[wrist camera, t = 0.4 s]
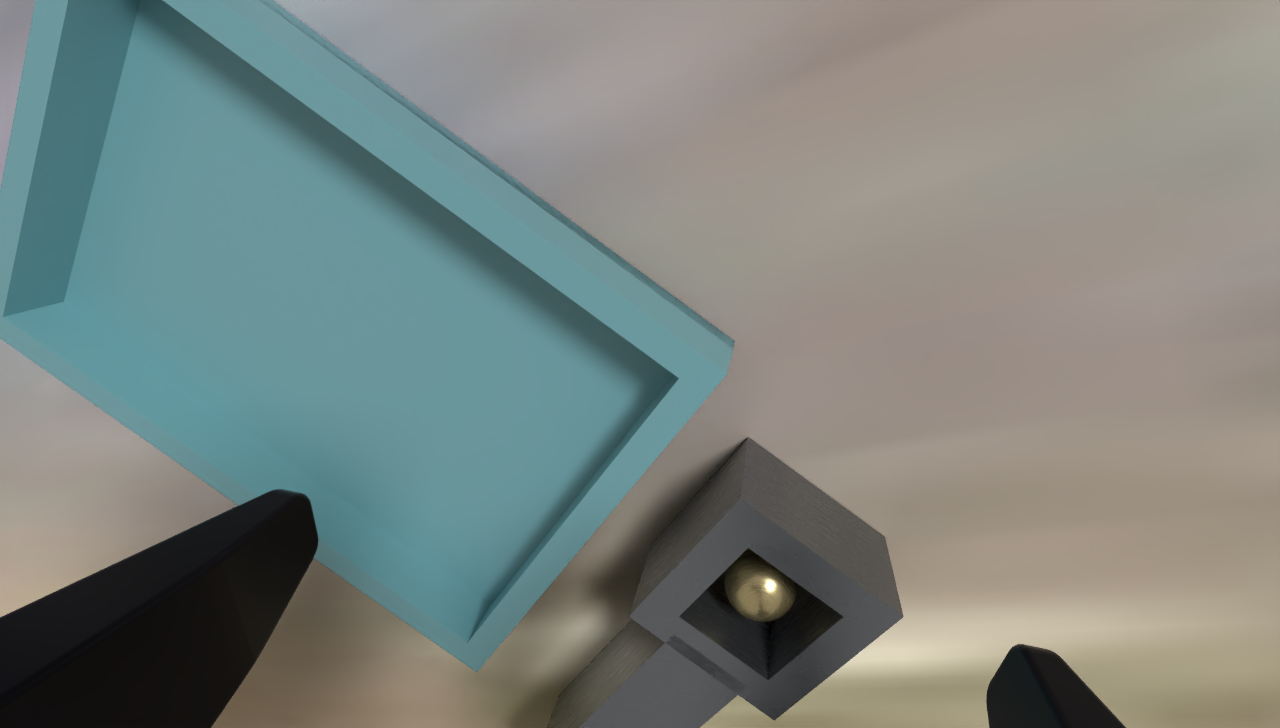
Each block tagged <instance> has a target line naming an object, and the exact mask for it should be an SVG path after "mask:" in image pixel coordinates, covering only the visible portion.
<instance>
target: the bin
mask: <svg viewBox="0 0 1280 728" xmlns="http://www.w3.org/2000/svg"><path fill="white" fill-rule="evenodd" d="M0 339H2V340H3V341H5V342H6V343H7V344H9V345H10V346H12V347H13V348H15V349H16V350H17V351H19V352H20V353H22V354H23V355H25V356H26V357H27V358H29V359H30V360H32V361H33V362H35V363H36V364H37V365H39V366H40V367H42V368H43V369H45V370H46V371H47V372H49V373H50V374H52V375H53V376H55V377H56V378H57V379H59V380H60V381H62V382H63V383H65V384H66V385H67V386H69V387H70V388H72V389H73V390H75V391H76V392H77V393H79V394H80V395H82V396H83V397H85V398H86V399H87V400H89V401H90V402H92V403H93V404H95V405H96V406H97V407H99V408H100V409H102V410H103V411H105V412H106V413H107V414H109V415H110V416H112V417H113V418H114V419H116V420H117V421H119V422H120V423H122V424H123V425H124V426H126V427H127V428H129V429H130V430H132V431H133V432H134V433H136V434H137V435H139V436H140V437H142V438H143V439H144V440H146V441H147V442H149V443H150V444H152V445H153V446H154V447H156V448H157V449H159V450H160V451H162V452H163V453H164V454H166V455H167V456H169V457H170V458H172V459H173V460H174V461H176V462H177V463H179V464H180V465H182V466H183V467H184V468H186V469H187V470H189V471H190V472H192V473H193V474H194V475H196V476H197V477H199V478H200V479H202V480H203V481H204V482H206V483H207V484H209V485H210V486H212V487H213V488H214V489H216V490H217V491H219V492H220V493H222V494H223V495H224V496H226V497H227V498H229V499H230V500H232V501H233V502H234V503H236V504H237V505H241V504H243V503H245V502H247V501H249V500H252V499H254V498H256V497H258V496H260V495H262V494H264V493H267V492H269V491H271V490H275V489H285V490H290V491H294V492H299V493H303V494H305V495H307V497H308V498H309V499H310V501H311V505H312V510H313V514H314V519H315V523H316V528H317V532H318V547H317V551H316V554H315V556H314V559H316V560H317V561H319V562H320V563H321V564H323V565H324V566H326V567H327V568H329V569H330V570H331V571H333V572H334V573H336V574H337V575H339V576H340V577H341V578H343V579H344V580H346V581H347V582H349V583H350V584H351V585H353V586H354V587H356V588H357V589H359V590H360V591H361V592H363V593H364V594H366V595H367V596H369V597H370V598H371V599H373V600H374V601H376V602H377V603H379V604H380V605H381V606H383V607H384V608H386V609H387V610H389V611H390V612H391V613H393V614H394V615H396V616H397V617H399V618H400V619H401V620H403V621H404V622H406V623H407V624H409V625H410V626H411V627H413V628H414V629H416V630H417V631H419V632H420V633H421V634H423V635H424V636H426V637H427V638H429V639H430V640H431V641H433V642H434V643H436V644H437V645H439V646H440V647H441V648H443V649H444V650H446V651H447V652H449V653H450V654H451V655H453V656H454V657H456V658H457V659H459V660H460V661H461V662H463V663H464V664H466V665H467V666H469V667H470V668H471V669H473V670H474V671H476V672H478V670H479V669H480V668H481V667H482V666H483V665H484V663H485V662H486V661H487V660H488V659H489V657H490V656H491V655H492V654H493V653H494V651H495V650H496V649H497V648H498V647H499V645H500V644H501V643H502V642H503V641H504V639H505V638H506V637H507V636H508V635H509V633H510V632H511V631H512V630H513V629H514V627H515V626H516V625H517V624H518V623H519V622H520V620H521V619H522V618H523V617H524V616H525V614H526V613H527V612H528V611H529V610H530V608H531V607H532V606H533V605H534V604H535V602H536V601H537V600H538V599H539V598H540V596H541V595H542V594H543V593H544V592H545V590H546V589H547V588H548V587H549V586H550V585H551V583H552V582H553V581H554V580H555V579H556V577H557V576H558V575H559V574H560V573H561V571H562V570H563V569H564V568H565V567H566V565H567V564H568V563H569V562H570V561H571V559H572V558H573V557H574V556H575V555H576V553H577V552H578V551H579V550H580V549H581V547H582V546H583V545H584V544H585V543H586V542H587V540H588V539H589V538H590V537H591V536H592V534H593V533H594V532H595V531H596V530H597V528H598V527H599V526H600V525H601V524H602V522H603V521H604V520H605V519H606V518H607V516H608V515H609V514H610V513H611V512H612V510H613V509H614V508H615V507H616V506H617V505H618V503H619V502H620V501H621V500H622V499H623V497H624V496H625V495H626V494H627V493H628V491H629V490H630V489H631V488H632V487H633V485H634V484H635V483H636V482H637V481H638V479H639V478H640V477H641V476H642V475H643V473H644V472H645V471H646V470H647V469H648V467H649V466H650V465H651V464H652V463H653V462H654V460H655V459H656V458H657V457H658V456H659V454H660V453H661V452H662V451H663V450H664V448H665V447H666V446H667V445H668V444H669V442H670V441H671V440H672V439H673V438H674V436H675V435H676V434H677V433H678V432H679V430H680V429H681V428H682V427H683V426H684V424H685V423H686V422H687V421H688V420H689V419H690V417H691V416H692V415H693V414H694V413H695V411H696V410H697V409H698V408H699V407H700V405H701V404H702V403H703V402H704V401H705V399H706V398H707V397H708V396H709V395H710V393H711V392H712V391H713V390H714V389H715V387H716V386H717V385H718V384H719V383H720V382H721V380H722V379H723V378H724V377H725V376H726V374H727V371H728V367H729V363H730V359H731V355H732V351H733V347H734V342H735V341H734V340H732V339H731V338H730V337H728V336H727V335H725V334H724V333H723V332H721V331H720V330H719V329H717V328H716V327H715V326H713V325H712V324H711V323H709V322H708V321H706V320H705V319H704V318H702V317H701V316H700V315H698V314H697V313H696V312H694V311H693V310H692V309H690V308H689V307H687V306H686V305H685V304H683V303H682V302H681V301H679V300H678V299H677V298H675V297H674V296H673V295H671V294H670V293H669V292H667V291H666V290H664V289H663V288H662V287H660V286H659V285H658V284H656V283H655V282H654V281H652V280H651V279H650V278H648V277H647V276H645V275H644V274H643V273H641V272H640V271H639V270H637V269H636V268H635V267H633V266H632V265H631V264H629V263H628V262H626V261H625V260H624V259H622V258H621V257H620V256H618V255H617V254H616V253H614V252H613V251H612V250H610V249H609V248H607V247H606V246H605V245H603V244H602V243H601V242H599V241H598V240H597V239H595V238H594V237H593V236H591V235H590V234H589V233H587V232H586V231H584V230H583V229H582V228H580V227H579V226H578V225H576V224H575V223H574V222H572V221H571V220H570V219H568V218H567V217H565V216H564V215H563V214H561V213H560V212H559V211H557V210H556V209H555V208H553V207H552V206H551V205H549V204H548V203H546V202H545V201H544V200H542V199H541V198H540V197H538V196H537V195H536V194H534V193H533V192H532V191H530V190H529V189H528V188H526V187H525V186H523V185H522V184H521V183H519V182H518V181H517V180H515V179H514V178H513V177H511V176H510V175H509V174H507V173H506V172H504V171H503V170H502V169H500V168H499V167H498V166H496V165H495V164H494V163H492V162H491V161H490V160H488V159H487V158H485V157H484V156H483V155H481V154H480V153H479V152H477V151H476V150H475V149H473V148H472V147H471V146H469V145H468V144H466V143H465V142H464V141H462V140H461V139H460V138H458V137H457V136H456V135H454V134H453V133H452V132H450V131H449V130H448V129H446V128H445V127H443V126H442V125H441V124H439V123H438V122H437V121H435V120H434V119H433V118H431V117H430V116H429V115H427V114H426V113H424V112H423V111H422V110H420V109H419V108H418V107H416V106H415V105H414V104H412V103H411V102H410V101H408V100H407V99H405V98H404V97H403V96H401V95H400V94H399V93H397V92H396V91H395V90H393V89H392V88H391V87H389V86H388V85H387V84H385V83H384V82H382V81H381V80H380V79H378V78H377V77H376V76H374V75H373V74H372V73H370V72H369V71H368V70H366V69H365V68H363V67H362V66H361V65H359V64H358V63H357V62H355V61H354V60H353V59H351V58H350V57H349V56H347V55H346V54H344V53H343V52H342V51H340V50H339V49H338V48H336V47H335V46H334V45H332V44H331V43H330V42H328V41H327V40H325V39H324V38H323V37H321V36H320V35H319V34H317V33H316V32H315V31H313V30H312V29H311V28H309V27H308V26H307V25H305V24H304V23H302V22H301V21H300V20H298V19H297V18H296V17H294V16H293V15H292V14H290V13H289V12H288V11H286V10H285V9H283V8H282V7H281V6H279V5H278V4H277V3H275V2H274V1H273V0H36V1H35V6H34V12H33V17H32V22H31V28H30V33H29V39H28V44H27V49H26V55H25V60H24V66H23V71H22V76H21V82H20V87H19V93H18V98H17V103H16V109H15V114H14V119H13V125H12V130H11V136H10V141H9V146H8V152H7V157H6V163H5V168H4V173H3V179H2V184H1V190H0Z"/></svg>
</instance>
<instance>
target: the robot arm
mask: <svg viewBox="0 0 1280 728" xmlns="http://www.w3.org/2000/svg"><path fill="white" fill-rule="evenodd" d="M317 547H318V532H317V528H316V523H315V519H314V514H313V510H312V505H311V501H310V499H309V498H308V497H307V495H305V494H303V493H299V492H294V491H290V490H285V489H275V490H271V491H269V492H267V493H264V494H262V495H260V496H258V497H256V498H254V499H252V500H249V501H247V502H245V503H243V504H241V505H239V506H237V507H235V508H232V509H230V510H228V511H226V512H224V513H222V514H220V515H218V516H215V517H213V518H211V519H209V520H207V521H205V522H203V523H201V524H198V525H196V526H194V527H192V528H190V529H188V530H186V531H183V532H181V533H179V534H177V535H175V536H173V537H171V538H169V539H166V540H164V541H162V542H160V543H158V544H156V545H154V546H152V547H149V548H147V549H145V550H143V551H141V552H139V553H137V554H134V555H132V556H130V557H128V558H126V559H124V560H122V561H120V562H117V563H115V564H113V565H111V566H109V567H107V568H105V569H103V570H100V571H98V572H96V573H94V574H92V575H90V576H88V577H85V578H83V579H81V580H79V581H77V582H75V583H73V584H71V585H68V586H66V587H64V588H62V589H60V590H58V591H56V592H54V593H51V594H49V595H47V596H45V597H43V598H41V599H39V600H36V601H34V602H32V603H30V604H28V605H26V606H24V607H22V608H19V609H17V610H15V611H13V612H11V613H9V614H7V615H5V616H2V617H0V728H211V727H212V725H213V724H214V722H215V721H216V719H217V718H218V717H219V715H220V714H221V712H222V711H223V709H224V708H225V706H226V705H227V703H228V702H229V700H230V699H231V698H232V696H233V695H234V693H235V692H236V690H237V689H238V687H239V686H240V684H241V683H242V681H243V680H244V678H245V677H246V675H247V674H248V672H249V671H250V669H251V668H252V666H253V665H254V663H255V662H256V660H257V658H258V657H259V655H260V653H261V652H262V650H263V648H264V646H265V645H266V643H267V641H268V639H269V638H270V636H271V634H272V632H273V630H274V629H275V627H276V625H277V623H278V621H279V619H280V618H281V616H282V614H283V612H284V610H285V609H286V607H287V605H288V603H289V601H290V600H291V598H292V596H293V594H294V592H295V590H296V589H297V587H298V585H299V583H300V581H301V580H302V578H303V576H304V574H305V572H306V571H307V569H308V567H309V565H310V563H311V562H312V560H313V558H314V556H315V554H316V551H317ZM987 711H988V719H989V727H990V728H1126V727H1125V726H1124V725H1123V724H1122V723H1121V722H1120V721H1119V720H1118V718H1117V717H1116V716H1115V715H1114V714H1113V713H1112V712H1111V711H1110V710H1109V709H1108V708H1107V707H1106V706H1105V704H1104V703H1103V702H1102V701H1101V700H1100V699H1099V698H1098V697H1097V696H1096V695H1095V694H1094V693H1093V692H1092V690H1091V689H1090V688H1089V687H1088V686H1087V685H1086V684H1085V683H1084V682H1083V681H1082V680H1081V679H1080V677H1079V676H1078V675H1077V674H1076V673H1075V672H1074V671H1073V670H1072V669H1071V668H1070V667H1069V666H1068V665H1067V663H1066V662H1065V661H1064V660H1063V659H1062V658H1061V657H1060V656H1059V655H1057V654H1056V653H1055V652H1053V651H1050V650H1047V649H1043V648H1038V647H1033V646H1028V645H1024V644H1017V645H1015V646H1014V647H1012V648H1011V649H1010V651H1009V652H1008V654H1007V655H1006V657H1005V659H1004V660H1003V662H1002V664H1001V665H1000V667H999V669H998V670H997V672H996V673H995V675H994V677H993V678H992V680H991V682H990V684H989V687H988V690H987Z"/></svg>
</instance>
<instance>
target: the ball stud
mask: <svg viewBox="0 0 1280 728" xmlns="http://www.w3.org/2000/svg"><path fill="white" fill-rule="evenodd" d="M724 584H725V591H726V594H727V597H728V599H729V601H730V603H731V604H732V606H733V607H734V608H735V609H736V610H737V611H738V612H739V613H740V614H741V615H743V616H744V617H746V618H748V619H751V620H754V621H759V622H767V621H772V620H775V619H778V618H780V617H781V616H783V615H784V614H785V613H786V612H787V611H788V610H789V609H790V608H791V606H792V605H793V603H794V601H795V598H796V594H797V583H796V582H795V581H793V580H792V579H791V578H789V577H788V576H786V575H785V574H784V573H782V572H781V571H780V570H778V569H777V568H775V567H774V566H773V565H771V564H770V563H768V562H767V561H766V560H764V559H763V558H762V557H760V556H759V555H757V554H756V553H755V552H753V551H752V550H750V549H749V548H747V549H746V550H745V551H744V552H743V553H742V554H741V555H740V556H739V557H738V558H737V559H736V560H735V561H734V562H733V563H732V564H731V565H730V566H729V567H728V568H727V569H726V573H725V581H724Z"/></svg>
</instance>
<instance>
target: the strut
mask: <svg viewBox="0 0 1280 728" xmlns="http://www.w3.org/2000/svg"><path fill="white" fill-rule="evenodd" d="M747 548H749V549H750V550H752V551H753V552H755V553H756V554H757V555H759V556H760V557H762V558H763V559H764V560H766V561H767V562H768V563H770V564H771V565H773V566H774V567H775V568H777V569H778V570H780V571H781V572H782V573H784V574H785V575H786V576H788V577H789V578H791V579H792V580H793V581H795V582H796V583H797V594H796V598H795V601H794V603H793V605H792V606H791V608H790V609H789V610H788V611H787V612H786V613H785V614H784V615H783V616H781V617H780V618H778V619H775V620H772V621H767V622H759V621H754V620H751V619H748V618H746V617H744V616H743V615H741V614H740V613H739V612H738V611H737V610H736V609H735V608H734V607H733V606H732V604H731V603H730V601H729V599H728V597H727V594H726V591H725V584H724V581H725V573H726V569H727V568H728V567H729V566H730V565H731V564H732V563H733V562H734V561H735V560H736V559H737V558H738V557H739V556H740V555H741V554H742V553H743V552H744V551H745V550H746V549H747ZM629 617H630V618H631V619H632V620H631V621H630V622H629V623H628V624H627V625H626V626H625V628H624V629H623V630H622V631H621V632H620V633H619V634H618V635H617V636H616V637H615V638H614V639H613V640H612V641H611V642H610V643H609V644H608V645H607V646H606V647H605V648H604V649H603V650H602V652H601V653H600V654H599V655H598V656H597V657H596V658H595V659H594V660H593V661H592V662H591V663H590V664H589V665H588V666H587V667H586V668H585V669H584V670H583V671H582V672H581V673H580V675H579V676H578V677H577V678H576V679H575V680H574V681H573V682H572V683H571V684H570V685H569V686H568V687H567V688H566V689H565V690H564V691H563V692H562V693H561V694H560V696H559V698H558V701H557V703H556V706H555V708H554V711H553V713H552V716H551V718H550V721H549V723H548V726H547V728H700V727H701V726H702V725H703V724H704V723H706V722H707V721H708V720H709V719H710V718H711V717H713V716H714V715H715V714H716V713H717V712H718V711H720V710H721V709H722V708H723V707H724V706H725V705H727V704H728V703H729V702H730V701H731V700H732V699H734V698H735V697H736V696H737V695H739V696H741V697H742V698H744V699H745V700H746V701H748V702H749V703H751V704H752V705H753V706H755V707H756V708H758V709H759V710H760V711H762V712H763V713H765V714H766V715H767V716H769V717H770V718H772V719H773V720H775V719H777V718H778V717H779V716H780V715H782V714H783V713H784V712H785V711H787V710H788V709H789V708H790V707H792V706H793V705H794V704H795V703H797V702H798V701H799V700H800V699H802V698H803V697H804V696H805V695H807V694H808V693H809V692H810V691H812V690H813V689H814V688H815V687H817V686H818V685H819V684H820V683H822V682H823V681H824V680H825V679H827V678H828V677H829V676H830V675H832V674H833V673H834V672H835V671H837V670H838V669H839V668H840V667H842V666H843V665H844V664H845V663H847V662H848V661H849V660H850V659H852V658H853V657H854V656H855V655H857V654H858V653H859V652H860V651H862V650H863V649H864V648H865V647H867V646H868V645H869V644H870V643H872V642H873V641H874V640H875V639H877V638H878V637H879V636H880V635H882V634H883V633H884V632H885V631H887V630H888V629H889V628H890V627H892V626H893V625H894V624H895V623H897V622H898V621H899V620H900V619H902V618H903V613H902V608H901V604H900V600H899V595H898V591H897V587H896V583H895V578H894V574H893V570H892V565H891V561H890V557H889V553H888V548H887V544H886V540H885V537H884V536H883V535H881V534H880V533H879V532H877V531H876V530H875V529H873V528H872V527H871V526H869V525H868V524H866V523H865V522H864V521H862V520H861V519H860V518H858V517H857V516H855V515H854V514H853V513H851V512H850V511H849V510H847V509H846V508H845V507H843V506H842V505H840V504H839V503H838V502H836V501H835V500H834V499H832V498H831V497H829V496H828V495H827V494H825V493H824V492H823V491H821V490H820V489H819V488H817V487H816V486H814V485H813V484H812V483H810V482H809V481H808V480H806V479H805V478H804V477H802V476H801V475H799V474H798V473H797V472H795V471H794V470H793V469H791V468H790V467H788V466H787V465H786V464H784V463H783V462H782V461H780V460H779V459H778V458H776V457H775V456H773V455H772V454H771V453H769V452H768V451H767V450H765V449H764V448H762V447H761V446H760V445H758V444H757V443H756V442H754V441H753V440H752V439H750V438H749V437H748V438H747V439H746V440H745V441H744V443H743V444H742V445H741V446H740V447H739V448H738V449H737V450H736V451H735V453H734V454H733V455H732V456H731V457H730V458H729V459H728V460H727V461H726V462H725V464H724V465H723V466H722V467H721V468H720V469H719V470H718V471H717V472H716V474H715V475H714V476H713V477H712V478H711V479H710V480H709V481H708V482H707V483H706V485H705V486H704V487H703V488H702V489H701V490H700V491H699V492H698V493H697V495H696V496H695V497H694V498H693V499H692V500H691V501H690V502H689V503H688V504H687V506H686V507H685V508H684V509H683V510H682V511H681V512H680V513H679V514H678V515H677V517H676V518H675V519H674V520H673V521H672V522H671V523H670V524H669V525H668V527H667V528H666V529H665V530H664V531H663V532H662V533H661V534H660V535H659V536H658V538H657V539H656V540H655V541H654V542H653V543H652V545H651V548H650V551H649V554H648V558H647V561H646V564H645V567H644V570H643V573H642V576H641V579H640V582H639V586H638V589H637V592H636V595H635V598H634V601H633V604H632V607H631V610H630V614H629Z"/></svg>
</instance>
